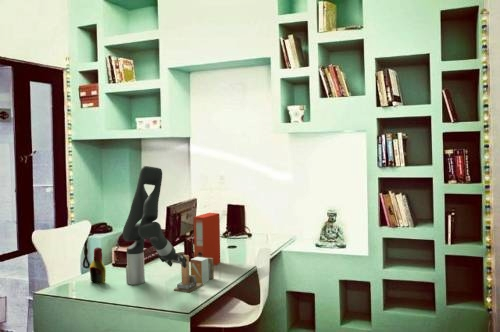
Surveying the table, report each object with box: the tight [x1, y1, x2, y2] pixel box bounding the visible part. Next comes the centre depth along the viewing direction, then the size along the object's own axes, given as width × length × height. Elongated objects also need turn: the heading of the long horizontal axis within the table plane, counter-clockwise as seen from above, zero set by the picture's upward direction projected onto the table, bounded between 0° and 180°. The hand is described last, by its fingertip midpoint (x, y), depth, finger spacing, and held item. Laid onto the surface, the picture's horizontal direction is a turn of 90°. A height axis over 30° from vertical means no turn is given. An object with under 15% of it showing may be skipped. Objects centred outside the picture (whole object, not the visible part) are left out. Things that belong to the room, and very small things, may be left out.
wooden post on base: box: [176, 254, 196, 290], centre depth 255 cm, size 7×8×17 cm
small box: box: [190, 257, 210, 284], centre depth 268 cm, size 8×6×13 cm
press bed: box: [173, 257, 215, 294], centre depth 263 cm, size 10×26×12 cm, turn 156°
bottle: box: [89, 247, 107, 285], centre depth 271 cm, size 12×6×20 cm, turn 48°
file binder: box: [193, 212, 221, 267], centre depth 301 cm, size 8×17×32 cm, turn 150°
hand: (178, 265), depth 248 cm, fingers open, 8 cm apart
